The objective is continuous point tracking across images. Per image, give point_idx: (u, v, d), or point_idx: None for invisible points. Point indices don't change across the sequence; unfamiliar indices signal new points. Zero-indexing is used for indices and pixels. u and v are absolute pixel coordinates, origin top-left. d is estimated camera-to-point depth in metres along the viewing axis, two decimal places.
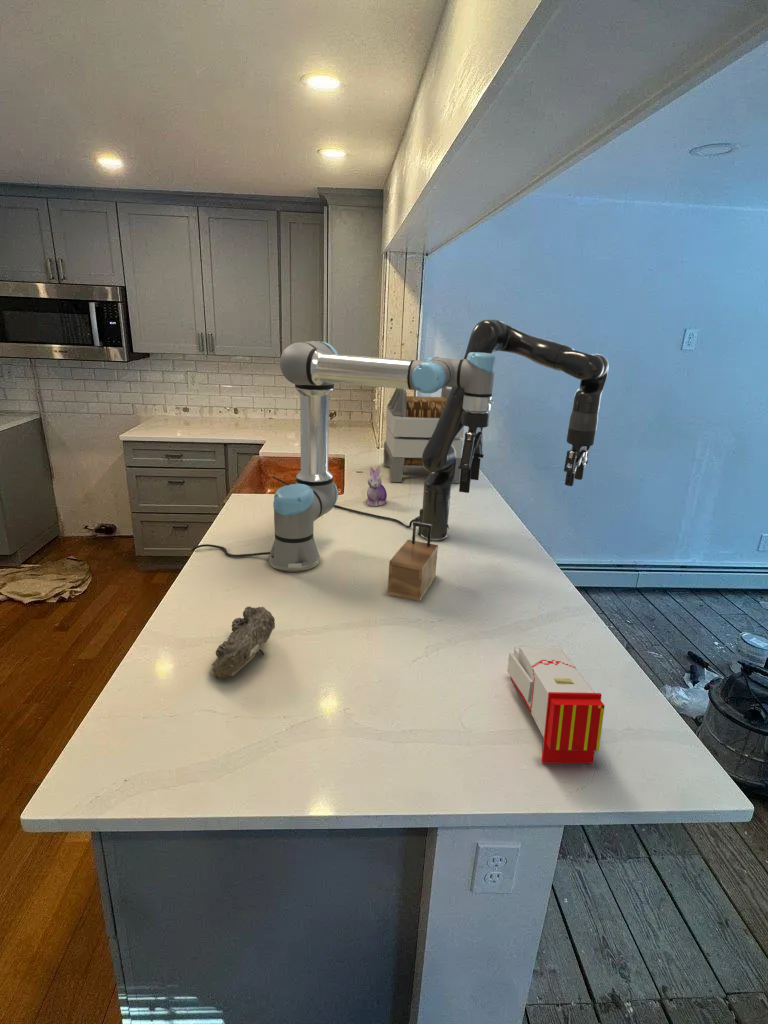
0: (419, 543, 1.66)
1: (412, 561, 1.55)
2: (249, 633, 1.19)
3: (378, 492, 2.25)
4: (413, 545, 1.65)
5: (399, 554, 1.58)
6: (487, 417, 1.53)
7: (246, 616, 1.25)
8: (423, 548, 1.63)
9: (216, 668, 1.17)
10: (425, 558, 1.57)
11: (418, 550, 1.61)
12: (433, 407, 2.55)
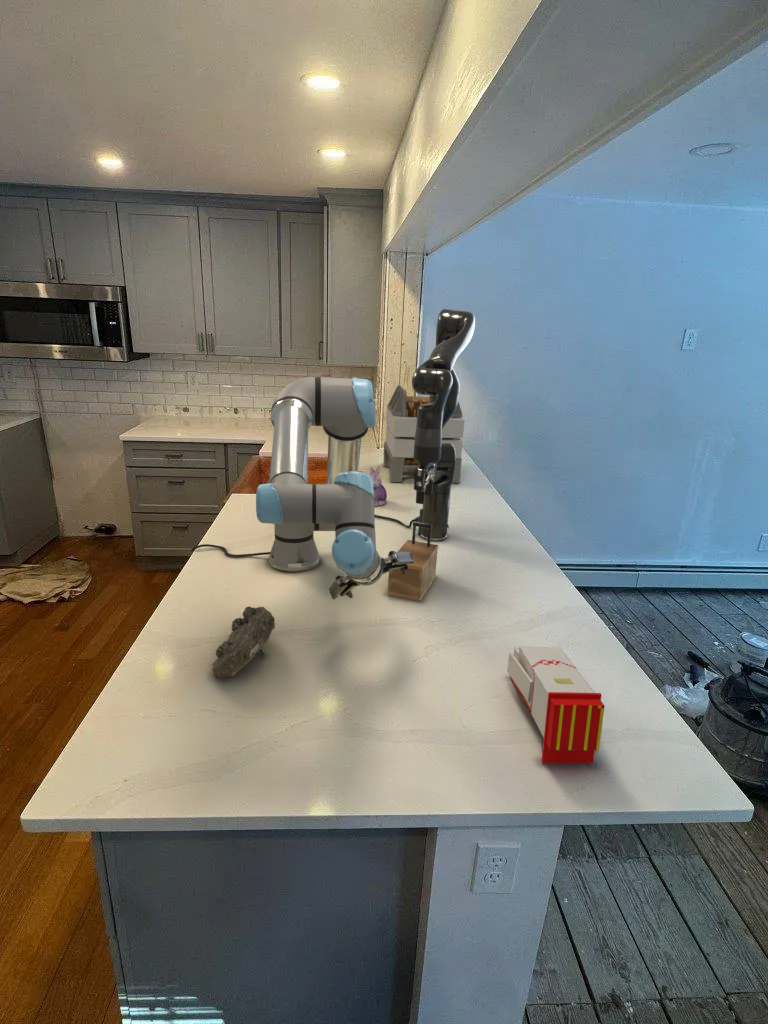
0: (419, 543, 1.66)
1: None
2: (249, 633, 1.19)
3: (378, 492, 2.25)
4: (413, 545, 1.65)
5: None
6: (364, 583, 1.15)
7: (246, 616, 1.25)
8: (423, 548, 1.63)
9: (216, 668, 1.17)
10: (425, 558, 1.57)
11: (418, 550, 1.61)
12: None
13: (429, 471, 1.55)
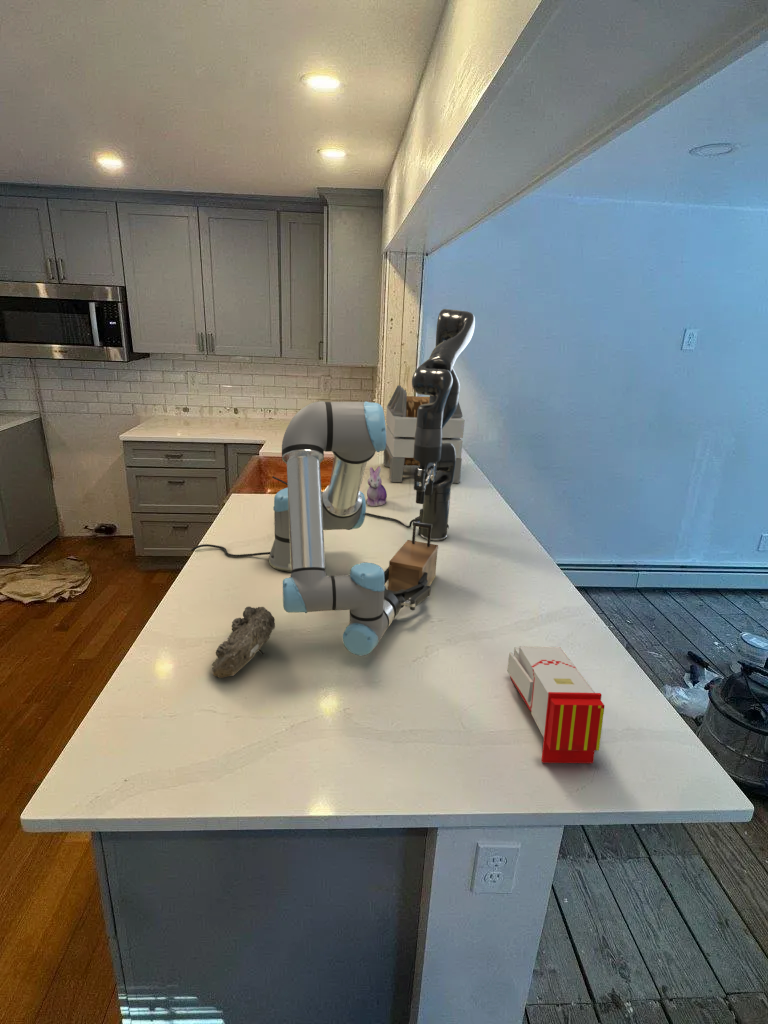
0: (419, 543, 1.66)
1: (412, 561, 1.55)
2: (249, 633, 1.19)
3: (378, 492, 2.25)
4: (413, 545, 1.65)
5: (399, 554, 1.58)
6: None
7: (246, 616, 1.25)
8: (423, 548, 1.63)
9: (216, 668, 1.17)
10: (425, 558, 1.57)
11: (418, 550, 1.61)
12: None
13: (429, 471, 1.55)
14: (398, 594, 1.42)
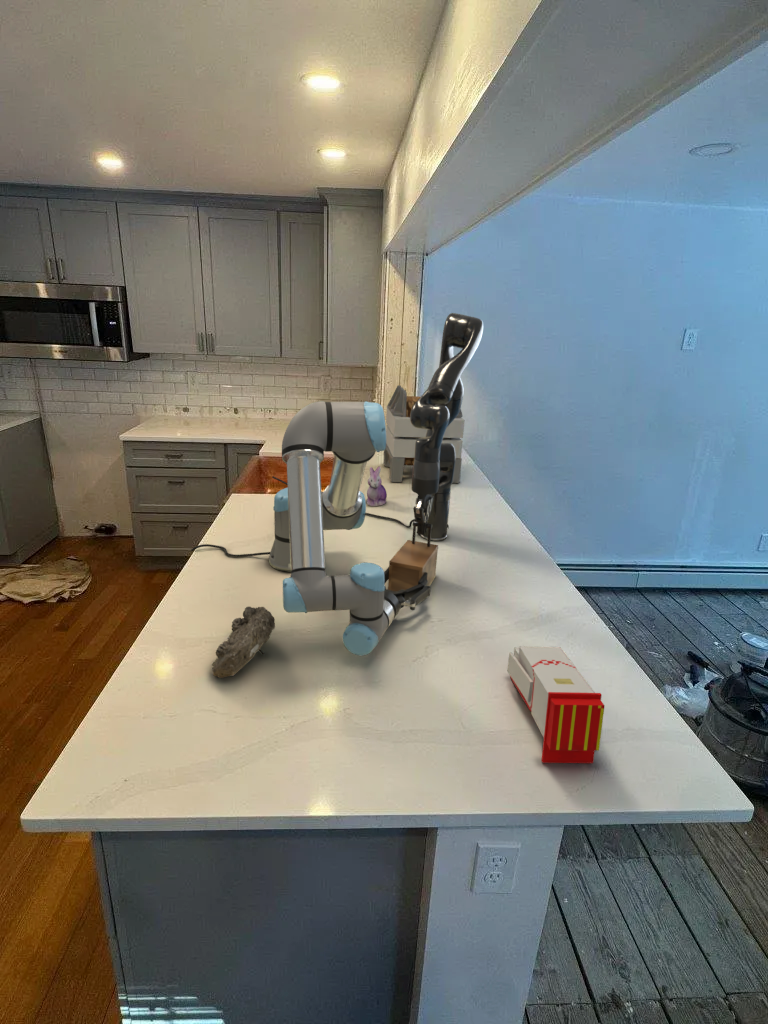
0: (419, 544, 1.66)
1: (412, 561, 1.55)
2: (249, 633, 1.19)
3: (378, 492, 2.25)
4: (413, 545, 1.65)
5: (399, 554, 1.58)
6: None
7: (246, 616, 1.25)
8: (423, 548, 1.63)
9: (216, 668, 1.17)
10: (425, 558, 1.57)
11: (418, 550, 1.61)
12: None
13: (427, 504, 1.59)
14: (398, 594, 1.42)
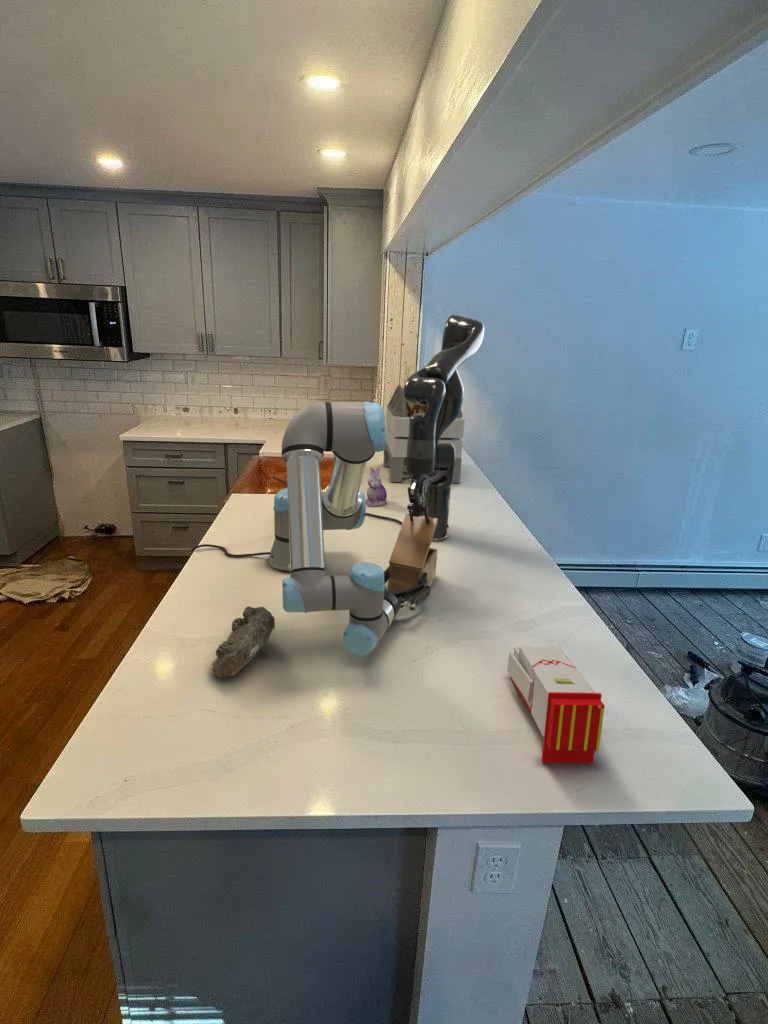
0: (418, 519, 1.61)
1: (412, 557, 1.53)
2: (249, 633, 1.19)
3: (378, 492, 2.25)
4: (411, 524, 1.60)
5: (398, 546, 1.56)
6: None
7: (246, 616, 1.25)
8: (422, 529, 1.58)
9: (216, 668, 1.17)
10: (425, 549, 1.54)
11: (417, 534, 1.58)
12: None
13: (422, 484, 1.50)
14: (398, 594, 1.41)
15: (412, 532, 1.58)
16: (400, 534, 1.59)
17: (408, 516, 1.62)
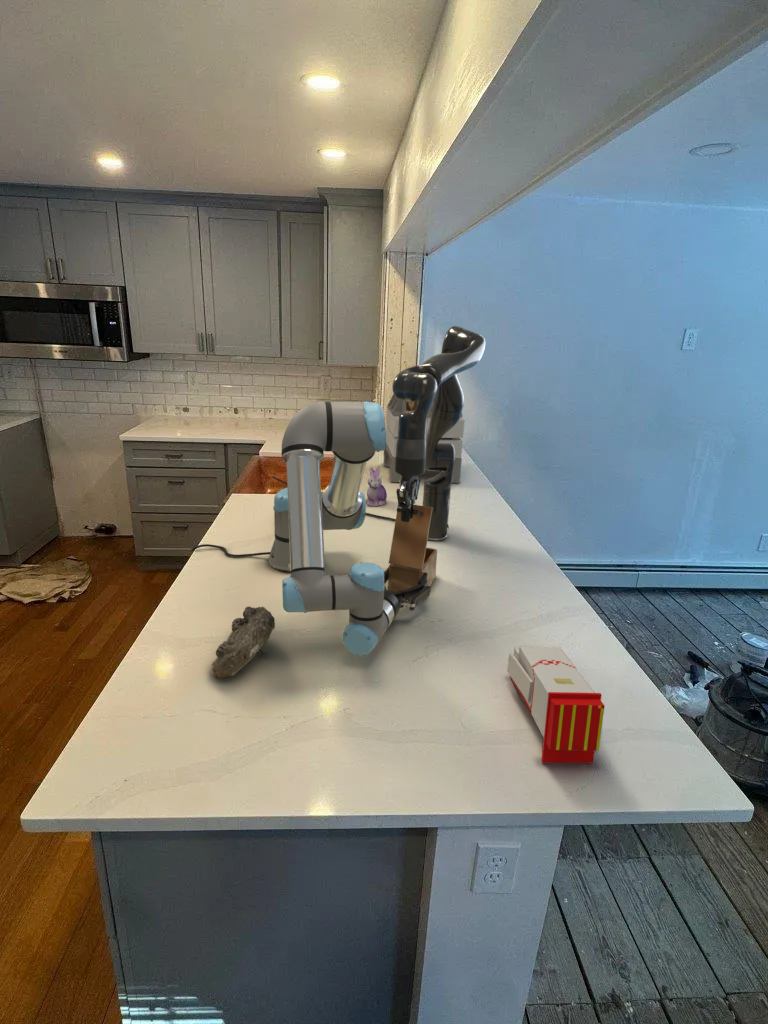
0: None
1: (410, 557, 1.52)
2: (249, 633, 1.19)
3: (378, 492, 2.25)
4: None
5: (396, 544, 1.53)
6: None
7: (246, 616, 1.25)
8: (417, 521, 1.52)
9: (216, 668, 1.17)
10: (422, 547, 1.51)
11: (413, 529, 1.52)
12: None
13: (412, 487, 1.41)
14: (398, 594, 1.41)
15: (407, 526, 1.52)
16: (395, 529, 1.53)
17: None
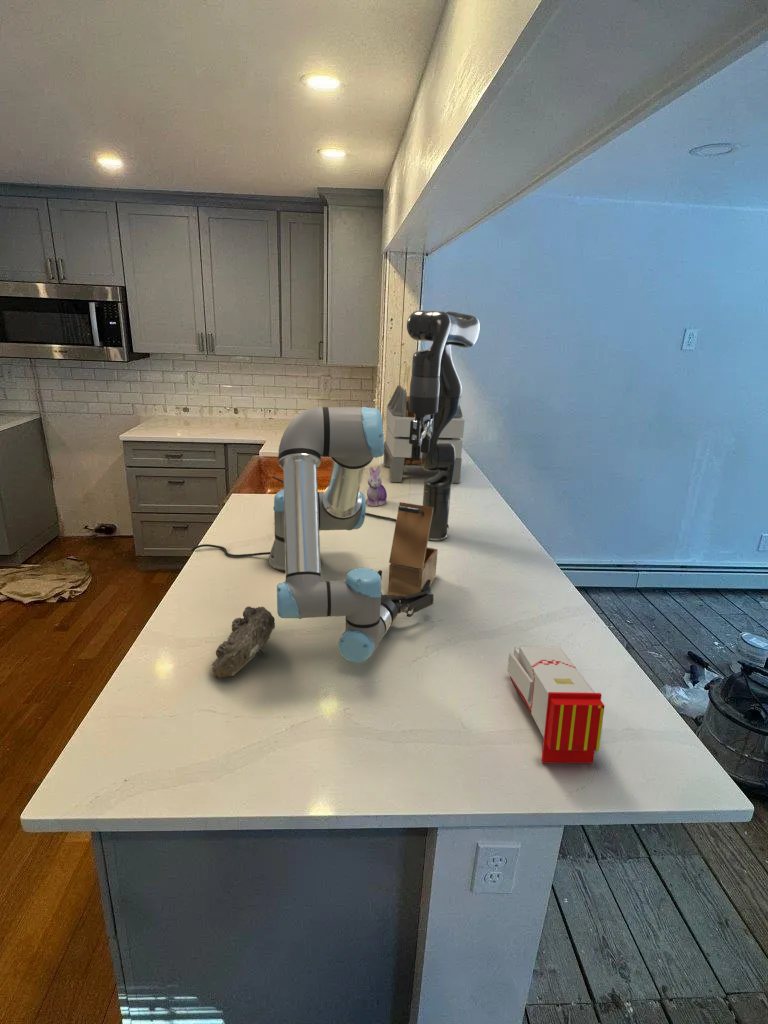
0: None
1: (411, 556, 1.52)
2: (249, 633, 1.19)
3: (378, 492, 2.25)
4: (406, 515, 1.53)
5: (396, 544, 1.53)
6: None
7: (246, 616, 1.25)
8: (418, 521, 1.52)
9: (216, 668, 1.17)
10: (423, 546, 1.51)
11: (413, 529, 1.53)
12: None
13: (425, 424, 1.44)
14: (395, 599, 1.39)
15: (408, 526, 1.53)
16: (396, 529, 1.54)
17: (402, 506, 1.54)
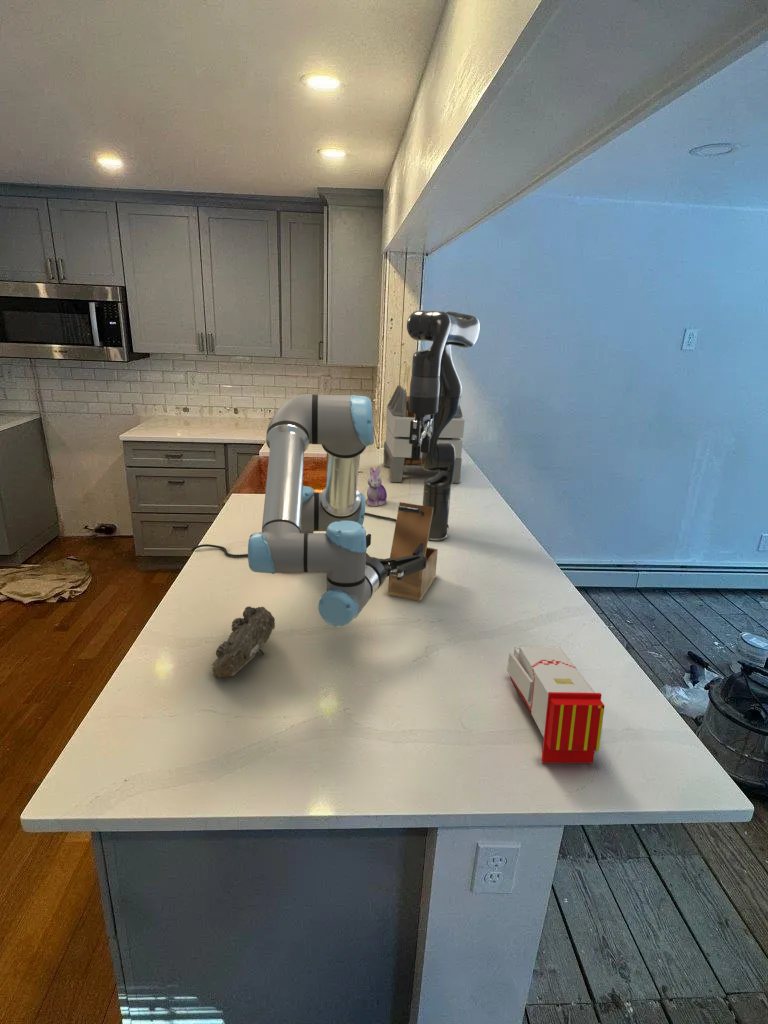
0: None
1: None
2: (249, 633, 1.19)
3: (378, 492, 2.25)
4: (406, 515, 1.53)
5: (396, 544, 1.53)
6: None
7: (246, 616, 1.25)
8: (418, 521, 1.52)
9: (216, 668, 1.17)
10: (423, 546, 1.51)
11: (413, 529, 1.53)
12: None
13: (425, 424, 1.44)
14: (384, 561, 1.26)
15: (408, 526, 1.53)
16: (396, 529, 1.54)
17: (402, 506, 1.54)
